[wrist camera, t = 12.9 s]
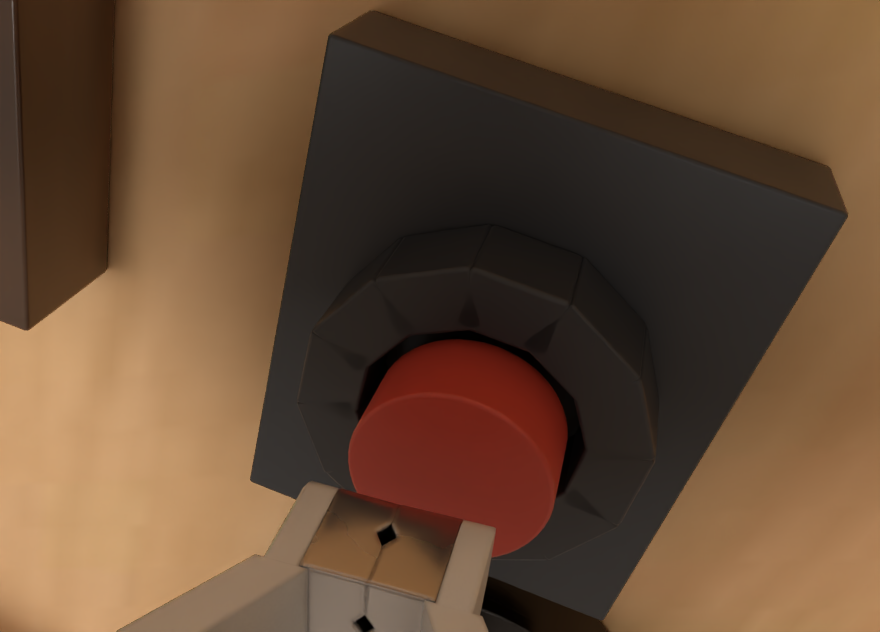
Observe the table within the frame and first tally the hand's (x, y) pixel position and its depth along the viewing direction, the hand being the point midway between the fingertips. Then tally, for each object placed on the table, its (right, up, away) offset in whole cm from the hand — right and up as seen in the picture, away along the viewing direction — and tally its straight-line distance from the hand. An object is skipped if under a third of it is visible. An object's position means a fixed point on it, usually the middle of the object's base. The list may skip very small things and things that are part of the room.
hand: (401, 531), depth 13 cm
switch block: (+2, +3, +6) cm, 7 cm away
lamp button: (+1, +1, +3) cm, 3 cm away
